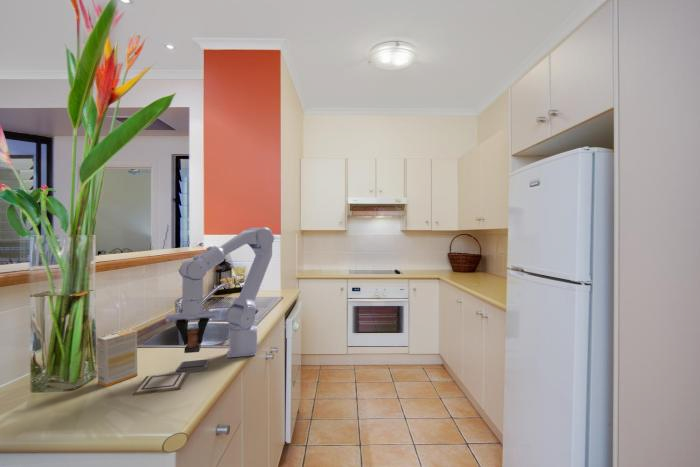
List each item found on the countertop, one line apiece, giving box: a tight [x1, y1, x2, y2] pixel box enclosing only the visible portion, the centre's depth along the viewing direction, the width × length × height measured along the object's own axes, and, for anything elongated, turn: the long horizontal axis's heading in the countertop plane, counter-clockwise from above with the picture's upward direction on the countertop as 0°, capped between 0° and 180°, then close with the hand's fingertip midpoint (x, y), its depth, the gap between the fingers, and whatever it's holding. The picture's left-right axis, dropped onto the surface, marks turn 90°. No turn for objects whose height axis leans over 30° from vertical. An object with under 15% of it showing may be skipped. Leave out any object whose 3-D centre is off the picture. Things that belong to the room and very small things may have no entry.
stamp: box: [183, 327, 202, 354], centre depth 98 cm, size 4×4×6 cm
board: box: [131, 372, 190, 396], centre depth 88 cm, size 11×10×1 cm
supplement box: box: [96, 328, 138, 388], centre depth 91 cm, size 8×5×13 cm, turn 150°
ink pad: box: [175, 358, 210, 373], centre depth 98 cm, size 8×6×1 cm
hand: (193, 343), depth 98 cm, fingers closed on stamp, 3 cm apart
